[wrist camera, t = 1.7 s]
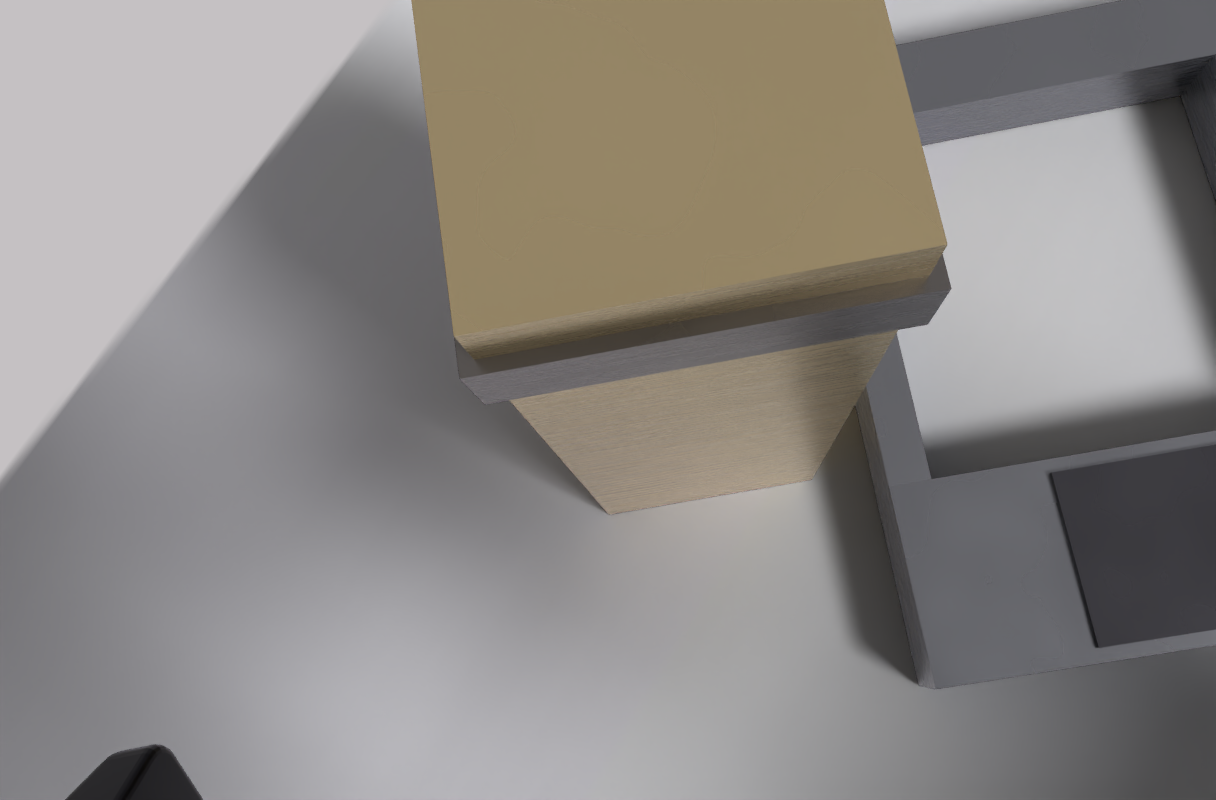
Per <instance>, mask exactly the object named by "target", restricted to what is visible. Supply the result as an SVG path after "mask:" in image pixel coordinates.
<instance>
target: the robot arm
mask: <svg viewBox="0 0 1216 800" xmlns="http://www.w3.org/2000/svg"><path fill="white" fill-rule="evenodd" d="M65 800H203V799H202V797H201V796H200V794H199V792H198V791H197V789H196V788H195V786H194V785H193V783H192V782H191V780H190V779H189V777H188V776H187V774H186V772H185V771H184V769H183V768H182V766H181V765H180V763H179V762H178V760H177V759H176V757H175V756H174V754H173V753H172V752H171V750H170V749H168V748H166V747H165V746H163V745H156V744H154V745H149V746H144V747H139V748H134V749H129V750H124V751H120V752H117V753H115V754H112V755H111V756H109V757H108V758H107V759H106V760H105V761H104V762H102V763H101V764H100V765H99V766H98V767H97V768H96V769H95V770H94V771H93V772H92V773H91V774H90V775H89V776H88V777H87V778H86V779H85V780H84V781H83V782H82V783H81V784H80V785H79V786H78V787H77V788H76V789H75V790H74V791H73V792H72V793H71V794H70V795H69V796H68V797H67V798H66V799H65Z"/></svg>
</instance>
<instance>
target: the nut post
mask: <svg viewBox="0 0 1216 800" xmlns="http://www.w3.org/2000/svg"><path fill="white" fill-rule="evenodd" d="M412 8H413V16H414V24H415V32H416V40H417V48H418V56H419V64H420V72H421V80H422V88H423V96H424V104H425V112H426V120H427V127H428V135H429V143H430V151H431V159H432V167H433V175H434V183H435V191H436V199H437V207H438V215H439V223H440V231H441V239H442V247H443V255H444V262H445V270H446V278H447V286H448V294H449V302H450V310H451V318H452V326H453V334H454V339H455V347H456V355H457V363H458V371H459V379H460V380H461V381H462V382H463V383H464V384H465V385H466V386H467V387H468V388H469V389H470V390H471V391H472V392H473V393H474V394H475V395H476V396H477V397H478V398H479V399H480V400H481V401H482V402H483V403H484V404H485V405H486V404H491V403H497V402H502V401H508V400H510V402H511V403H512V404H513V405H514V406H515V407H516V408H517V410H518V411H519V412H520V413H521V414H522V415H523V417H524V418H525V419H526V420H527V421H528V422H529V423H530V425H531V426H532V427H533V428H534V429H535V430H536V431H537V433H538V434H539V435H540V436H541V437H542V438H543V440H544V441H545V442H546V443H547V444H548V445H549V446H550V448H551V449H552V450H553V451H554V452H555V453H556V454H557V456H558V457H559V458H560V459H561V460H562V461H563V462H564V464H565V465H566V466H567V467H568V468H569V469H570V471H571V472H572V473H573V474H574V475H575V476H576V477H577V479H578V480H579V481H580V482H581V483H582V484H583V485H584V487H585V488H586V489H587V490H588V491H589V492H590V494H591V495H592V496H593V497H594V498H595V499H596V500H597V502H598V503H599V504H600V505H601V506H602V507H603V508H604V510H605V511H606V512H607V513H608V514H609V515H610V514H616V513H622V512H628V511H633V510H639V509H645V508H651V507H657V506H662V505H668V504H674V503H680V502H686V501H691V500H697V499H703V498H709V497H715V496H720V495H726V494H732V493H738V492H744V491H749V490H755V489H761V488H767V487H772V486H778V485H784V484H790V483H796V482H801V481H807V480H812V478H813V477H814V475H815V473H816V471H817V470H818V468H819V466H820V465H821V463H822V461H823V459H824V458H825V456H826V454H827V452H828V451H829V449H830V447H831V445H832V444H833V442H834V440H835V439H836V437H837V435H838V433H839V432H840V430H841V428H842V426H843V425H844V423H845V421H846V419H847V418H848V416H849V414H850V413H851V411H852V409H853V407H854V406H855V404H856V402H857V400H858V399H859V397H860V395H861V393H862V392H863V390H864V388H865V387H866V385H867V383H868V381H869V380H870V378H871V376H872V374H873V373H874V371H875V369H876V367H877V366H878V364H879V362H880V361H881V359H882V357H883V355H884V354H885V352H886V350H887V348H888V347H889V345H890V343H891V341H892V340H893V338H894V336H895V335H896V333H897V331H898V330H899V329H905V328H910V327H916V326H921V325H927V324H928V323H929V322H930V320H931V319H932V317H933V316H934V314H935V313H936V311H937V310H938V308H939V307H940V305H941V304H942V302H943V301H944V299H945V298H946V296H947V295H948V293H949V291H950V290H951V285H950V281H949V278H948V274H947V270H946V266H945V262H944V258H943V254H942V253H943V251H944V250H945V248H946V246H947V241H946V237H945V233H944V229H943V225H942V221H941V218H940V214H939V210H938V206H937V202H936V198H935V194H934V191H933V187H932V183H931V179H930V175H929V171H928V168H927V164H926V160H925V156H924V152H923V148H922V144H921V141H920V137H919V133H918V129H917V125H916V121H915V117H914V114H913V110H912V106H911V102H910V98H909V94H908V91H907V87H906V83H905V79H904V75H903V71H902V67H901V64H900V60H899V56H898V52H897V48H896V44H895V40H894V37H893V33H892V29H891V25H890V21H889V17H888V13H887V10H886V6H885V2H884V0H412Z"/></svg>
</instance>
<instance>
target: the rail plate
mask: <svg viewBox="0 0 1216 800" xmlns="http://www.w3.org/2000/svg"><path fill="white" fill-rule="evenodd" d="M896 48H897V52H898V56H899V60H900V64H901V67H902V71H903V75H904V79H905V83H906V87H907V91H908V94H909V98H910V102H911V106H912V110H913V114H914V117H915V121H916V125H917V129H918V133H919V137H920V141H921V144H922V145H928V144H933V143H938V142H943V141H948V140H954V139H959V138H964V137H969V136H974V135H980V134H985V133H990V132H995V131H1000V130H1005V129H1011V128H1016V127H1021V126H1026V125H1031V124H1037V123H1042V122H1047V121H1052V120H1057V119H1063V118H1068V117H1073V116H1078V115H1083V114H1089V113H1094V112H1099V111H1104V110H1109V109H1114V108H1120V107H1125V106H1130V105H1135V104H1140V103H1146V102H1151V101H1156V100H1161V99H1166V98H1172V97H1177V96H1181V98H1182V101H1183V104H1184V107H1185V110H1186V113H1187V116H1188V119H1189V122H1190V125H1191V128H1192V131H1193V134H1194V137H1195V140H1196V143H1197V146H1198V149H1199V152H1200V155H1201V158H1202V161H1203V164H1204V167H1205V170H1206V173H1207V176H1208V179H1209V182H1210V185H1211V188H1212V191H1213V194H1214V197H1215V200H1216V0H1121V1H1116V2H1111V3H1106V4H1101V5H1096V6H1091V7H1086V8H1081V9H1076V10H1071V11H1066V12H1061V13H1056V14H1051V15H1046V16H1041V17H1036V18H1031V19H1026V20H1021V21H1016V22H1011V23H1006V24H1001V25H996V26H991V27H986V28H981V29H976V30H971V31H966V32H961V33H956V34H951V35H946V36H941V37H936V38H931V39H926V40H921V41H916V42H911V43H906V44H901V45H896ZM855 406H856V411H857V415H858V420H859V424H860V428H861V433H862V437H863V442H864V446H865V451H866V455H867V459H868V464H869V468H870V473H871V477H872V482H873V486H874V490H875V495H876V499H877V504H878V508H879V513H880V517H881V521H882V526H883V530H884V535H885V539H886V544H887V548H888V552H889V557H890V561H891V566H892V570H893V575H894V579H895V583H896V588H897V592H898V597H899V601H900V606H901V610H902V614H903V619H904V623H905V628H906V632H907V637H908V641H909V645H910V650H911V654H912V659H913V663H914V668H915V672H916V677H917V681H918V685H919V686H923V687H927V688H932V689H941V688H947V687H954V686H960V685H966V684H973V683H979V682H985V681H992V680H998V679H1005V678H1011V677H1017V676H1024V675H1030V674H1036V673H1043V672H1049V671H1055V670H1062V669H1068V668H1074V667H1081V666H1087V665H1093V664H1100V663H1106V662H1112V661H1119V660H1125V659H1131V658H1138V657H1144V656H1150V655H1157V654H1163V653H1169V652H1176V651H1182V650H1188V649H1195V648H1201V647H1207V646H1214V645H1216V430H1215V431H1209V432H1204V433H1198V434H1192V435H1186V436H1180V437H1174V438H1168V439H1163V440H1157V441H1151V442H1145V443H1139V444H1133V445H1128V446H1122V447H1116V448H1110V449H1104V450H1098V451H1093V452H1087V453H1081V454H1075V455H1069V456H1063V457H1058V458H1052V459H1046V460H1040V461H1034V462H1028V463H1023V464H1017V465H1011V466H1005V467H999V468H993V469H987V470H982V471H976V472H970V473H964V474H958V475H952V476H947V477H941V478H935V479H931V475H930V471H929V467H928V462H927V458H926V454H925V450H924V446H923V442H922V437H921V433H920V429H919V425H918V421H917V417H916V412H915V408H914V404H913V400H912V396H911V392H910V388H909V383H908V379H907V375H906V371H905V367H904V363H903V358H902V354H901V350H900V346H899V342H898V338H897V333H896V335H895V336H894V338H893V340H892V341H891V343H890V345H889V347H888V348H887V350H886V352H885V354H884V355H883V357H882V359H881V361H880V362H879V364H878V366H877V367H876V369H875V371H874V373H873V374H872V376H871V378H870V380H869V381H868V383H867V385H866V387H865V388H864V390H863V392H862V393H861V395H860V397H859V399H858V400H857V402H856V404H855Z"/></svg>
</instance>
